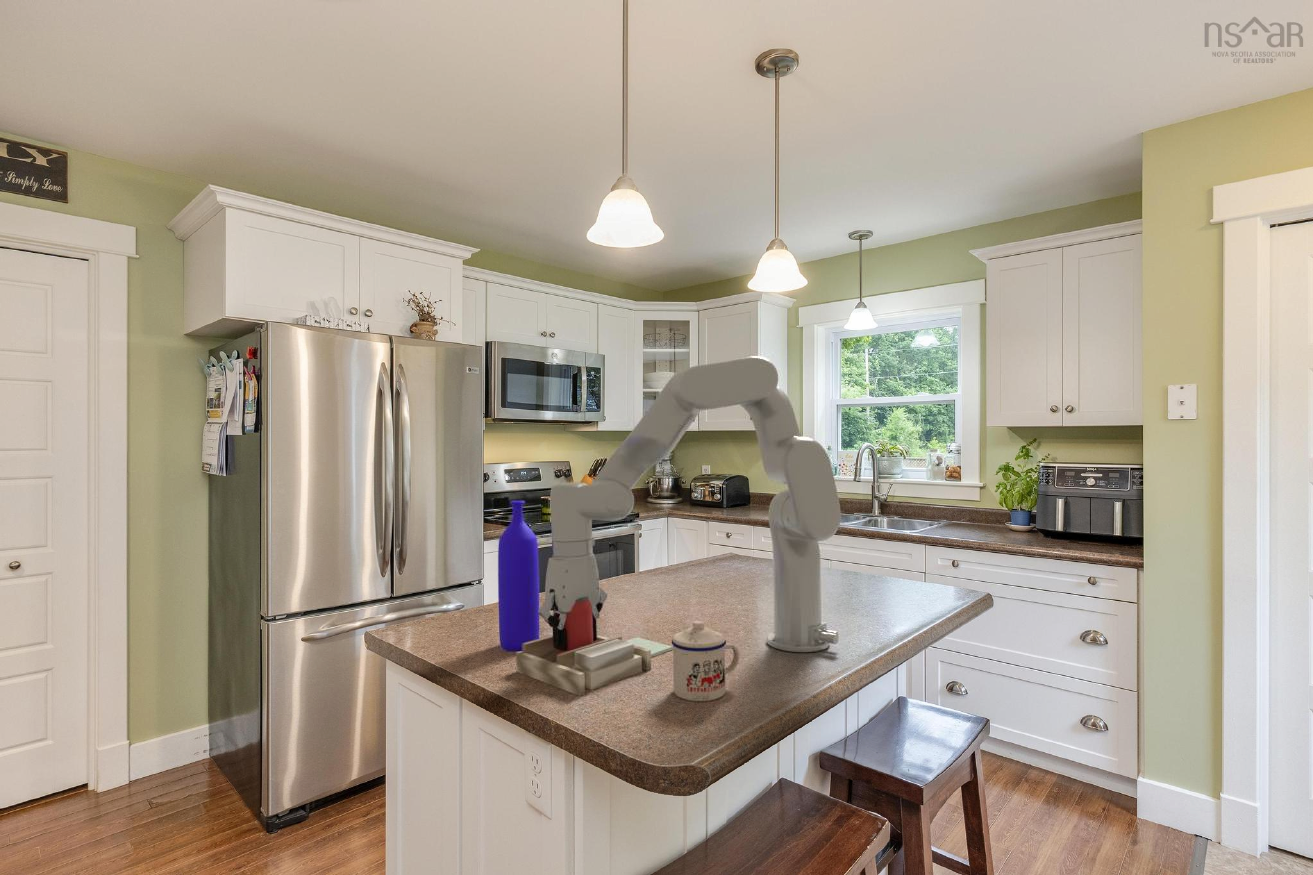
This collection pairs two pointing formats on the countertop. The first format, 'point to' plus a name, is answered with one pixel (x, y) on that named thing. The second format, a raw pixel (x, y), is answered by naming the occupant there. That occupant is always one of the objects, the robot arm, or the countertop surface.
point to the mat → (650, 646)
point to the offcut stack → (607, 663)
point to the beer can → (579, 625)
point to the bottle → (518, 583)
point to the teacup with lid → (701, 663)
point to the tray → (562, 663)
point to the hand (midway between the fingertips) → (575, 643)
